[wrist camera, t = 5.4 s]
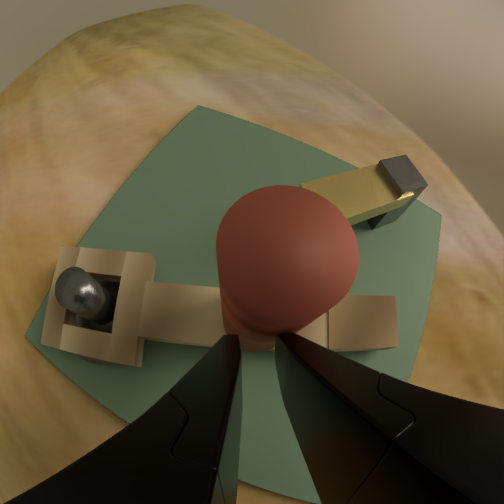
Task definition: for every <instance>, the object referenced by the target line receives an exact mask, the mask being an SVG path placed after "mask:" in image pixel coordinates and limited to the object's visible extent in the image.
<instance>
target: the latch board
mask: <svg viewBox="0 0 504 504" xmlns="http://www.w3.org/2000/svg"><path fill="white" fill-rule="evenodd" d="M355 169H359V168H358V167H356V166H354V165H352V164H349V163H347V162H345V161H343V160H341V159H339V158H337V157H335V156H333V155H330V154H328V153H326V152H324V151H322V150H319V149H317V148H315V147H312V146H310V145H308V144H305V143H303V142H301V141H298V140H296V139H294V138H291V137H289V136H286V135H284V134H281V133H279V132H276V131H273V130H271V129H268V128H265V127H263V126H260V125H257V124H255V123H252V122H249V121H246V120H243V119H240V118H237V117H234V116H231V115H228V114H225V113H222V112H219V111H216V110H213V109H209V108H206V107H203V106H199V105H198V106H197V107H196V108H195V109H194V110H192V111H191V112H190V113H189V114H188V115H187V116H186V117H185V118H184V119H183V120H182V121H181V122H180V123H179V124H178V125H177V126H176V127H175V128H174V129H173V130H172V131H171V132H170V133H169V134H168V135H167V136H166V137H165V138H164V139H163V140H162V142H161V143H160V144H159V145H158V146H157V147H156V148H155V149H154V150H153V151H152V152H151V153H150V154H149V156H148V157H147V158H146V159H145V160H144V161H143V162H142V163H141V165H140V166H139V167H138V168H137V169H136V170H135V171H134V173H133V174H132V175H131V176H130V177H129V179H128V180H127V181H126V182H125V183H124V185H123V186H122V187H121V188H120V189H119V191H118V192H117V193H116V194H115V196H114V197H113V198H112V199H111V201H110V202H109V203H108V204H107V206H106V207H105V208H104V210H103V211H102V212H101V214H100V215H99V216H98V218H97V219H96V220H95V222H94V223H93V224H92V226H91V227H90V229H89V230H88V231H87V233H86V234H85V236H84V237H83V239H82V240H81V241H80V243H79V244H78V246H77V247H84V248H96V249H107V250H118V251H130V252H142V253H151V254H152V256H153V257H154V259H155V261H156V266H155V272H154V278H153V282H163V283H173V284H184V285H195V286H207V287H219V278H218V267H217V256H216V237H217V232H218V228H219V225H220V223H221V221H222V219H223V217H224V215H225V214H226V212H227V211H228V209H229V208H230V207H231V206H232V205H233V204H234V203H235V202H236V201H237V200H239V199H240V198H241V197H243V196H244V195H246V194H248V193H249V192H252V191H254V190H256V189H260V188H263V187H267V186H274V185H289V186H296V187H299V186H300V184H301V183H305V182H309V181H312V180H316V179H320V178H324V177H327V176H331V175H335V174H339V173H343V172H347V171H351V170H355ZM351 227H352V229H353V231H354V233H355V236H356V239H357V242H358V248H359V268H358V272H357V276H356V278H355V281H354V283H353V285H352V287H351V289H350V290H349V292H348V293H347V294H346V295H375V296H395V298H396V310H397V323H398V342H399V347H396V348H392V349H388V350H373V351H347V352H336V353H338V354H340V355H343V356H345V357H347V358H349V359H351V360H354V361H356V362H358V363H360V364H363V365H365V366H367V367H370V368H372V369H374V370H376V371H379V372H380V373H385V374H387V375H389V376H392V377H394V378H397V379H399V380H402V381H404V382H407V383H408V381H409V378H410V375H411V372H412V369H413V365H414V362H415V359H416V355H417V352H418V348H419V345H420V341H421V337H422V333H423V329H424V325H425V321H426V317H427V312H428V308H429V303H430V298H431V293H432V287H433V282H434V276H435V269H436V263H437V255H438V247H439V238H440V228H441V214H439V213H438V212H436V211H435V210H433V209H432V208H430V207H428V206H427V205H425V204H423V203H422V202H420V201H418V200H417V199H415V200H414V202H413V203H412V204H411V205H410V206H409V207H408V208H407V209H406V211H405V212H404V213H403V214H402V215H401V216H400V217H399V218H398V219H397V220H396V221H394V222H392V223H389V224H387V225H384V226H382V227H380V228H377V229H375V230H372V229H371V227H370V225H369V224H368V222H367V221H366V220H364V221H362V222H359V223H356V224H354V225H351ZM50 289H51V288H50ZM49 294H50V290H49V292H48V294H47V295H46V297H45V299H44V301H43V302H42V304H41V306H40V308H39V310H38V312H37V313H36V315H35V317H34V319H33V321H32V323H31V325H30V327H29V329H28V331H27V333H26V335H25V337H26V338H27V339H28V340H29V341H30V342H31V343H32V344H33V345H34V346H35V347H36V348H37V349H38V350H39V351H40V352H41V353H42V354H43V355H44V356H45V357H46V358H47V359H48V360H49V361H50V362H52V363H53V364H54V365H55V366H56V367H57V368H58V369H59V370H60V371H61V372H63V373H64V374H65V375H66V376H67V377H68V378H70V379H71V380H72V381H73V382H74V383H75V384H77V385H78V386H79V387H80V388H82V389H83V390H84V391H85V392H87V393H88V394H89V395H90V396H92V397H93V398H94V399H96V400H97V401H98V402H100V403H101V404H102V405H104V406H105V407H106V408H108V409H109V410H111V411H112V412H113V413H115V414H116V415H118V416H119V417H121V418H122V419H124V420H125V421H127V422H128V423H132V422H133V421H134V420H136V419H137V418H138V417H139V416H141V415H142V414H143V413H145V412H146V411H147V410H148V409H149V408H150V407H151V406H152V405H153V404H155V403H156V402H157V401H158V400H159V399H160V398H161V397H162V396H163V395H164V394H165V393H167V392H168V391H169V390H170V389H171V388H172V387H173V386H174V385H175V384H176V383H177V382H178V381H179V380H180V379H181V378H182V377H183V376H184V375H185V374H186V373H187V372H188V371H189V370H190V369H191V368H192V367H193V366H194V365H195V364H196V363H197V362H198V361H199V360H200V359H201V358H202V357H203V356H204V355H205V354H206V353H207V351H208V350H209V349H210V348H211V347H205V346H195V345H186V344H177V343H169V342H161V341H154V340H147V342H146V343H145V345H144V349H143V359H142V367H136V366H130V365H125V364H119V363H117V364H110V365H102V364H96V363H92V362H89V361H86V360H84V359H82V358H81V357H79V356H78V355H77V354H75V353H71V352H67V351H64V350H60V349H56V348H53V347H50V346H46V345H43V344H41V338H42V331H43V325H44V319H45V314H46V308H47V303H48V299H49ZM241 356H242V396H243V410H242V424H241V439H240V454H239V468H238V480H241V481H243V482H246V483H249V484H252V485H254V486H257V487H260V488H263V489H266V490H269V491H272V492H275V493H279V494H282V495H285V496H289V497H292V498H296V499H300V500H304V501H308V502H312V503H316V504H322V503H321V501H320V498H319V496H318V493H317V491H316V488H315V486H314V483H313V481H312V478H311V475H310V473H309V470H308V468H307V465H306V462H305V460H304V457H303V454H302V452H301V449H300V446H299V444H298V441H297V439H296V436H295V433H294V430H293V428H292V425H291V422H290V420H289V417H288V414H287V412H286V409H285V406H284V403H283V400H282V395H281V391H280V385H279V380H278V375H277V370H276V365H275V351H264V352H251V351H247V350H243V349H241Z"/></svg>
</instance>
